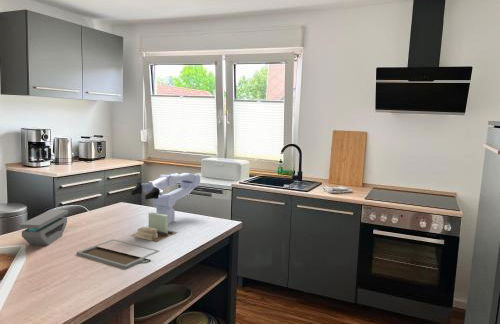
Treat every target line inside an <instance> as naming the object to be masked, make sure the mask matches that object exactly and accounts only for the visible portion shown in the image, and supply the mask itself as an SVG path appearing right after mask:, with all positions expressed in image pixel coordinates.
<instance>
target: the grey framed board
mask: <svg viewBox="0 0 500 324" xmlns="http://www.w3.org/2000/svg"><path fill="white" fill-rule="evenodd" d="M111 242H118V243H122V244H126V245H131V246H135V247H138V248H142V249H144V250H145V249H146V250H151V251H152V252H151V253H148V254H146V255H144V256H142V257H141V256H137V255H133V254H128V253H124V252H121V251H116V250H113V249H109V248H104V247H100V246H102V245H105V244H108V243H111ZM157 253H160V250H158V249H155V248H154V249H153V248H150V247H146V246H142V245H138V244H133V243H130V242H126V241H121V240H118V239H110V240H107V241H105V242H101V243H97V244H95V245H92V246H90V247H88V248H84V249H82V250H79V251H76V255H77V256H80V257H83V258H87V259H90V260H94V261H97V262H100V263H104V264H107V265H111V266H114V267H116V268H120V269H123V270H127V269H130V268H131V267H134V266H136V265H138V264H148V263H150V262H151V259H149V258H148V257H151V256H153V255H155V254H157Z"/></svg>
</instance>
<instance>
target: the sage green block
mask: <svg viewBox="0 0 500 324" xmlns="http://www.w3.org/2000/svg"><path fill="white" fill-rule="evenodd" d="M148 228H155V229H157V231H160V232H165V233H168V230H169V224H168V215H164V214H158V213H156V212H153V211H152V212H151V211H150V212H148Z"/></svg>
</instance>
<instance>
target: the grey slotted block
mask: <svg viewBox="0 0 500 324" xmlns="http://www.w3.org/2000/svg"><path fill="white" fill-rule="evenodd" d="M68 214H69V210H68V209H54V208H53V209H49V210H48V211H45V212H43V213H41V214H39V215H37V216H35V217H32V218H30V219H28V220H26V221H24V222H22V223H20V224H19V229H24V230H21V237H22V238H23V239H24V240H25V241H26V242H27V243H28V244H29V245H32V246H33V245H35V246H36V245H37V246H49V245H51V244H52V243H55V242H56V241H57V240H60V238H62V237H63V234H64V232H65V228H66V226H67V223H68V217H65V215H68Z"/></svg>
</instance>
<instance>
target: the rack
mask: <svg viewBox="0 0 500 324" xmlns="http://www.w3.org/2000/svg"><path fill="white" fill-rule="evenodd" d="M157 233H158V238H155V239H153V240H147V239H143V238H138V237H135V233H133V234H130V235H129V237H131V238H134V239H135V238H137V239H141V240H145V241H150V242H155V243H158V242H160V241H162V240H164V239H166V238H167V239H168V237H170V236H174V235H176V234H178V233H179V232H177V231H173V230H169V229H168V233H165V232H160V231H157Z"/></svg>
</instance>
